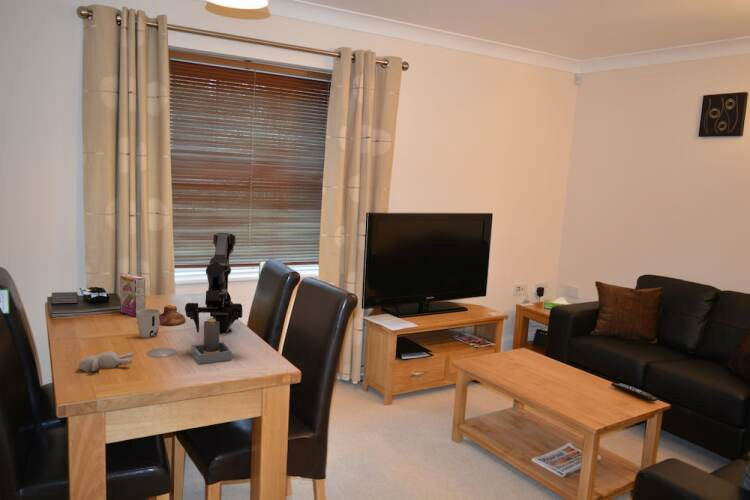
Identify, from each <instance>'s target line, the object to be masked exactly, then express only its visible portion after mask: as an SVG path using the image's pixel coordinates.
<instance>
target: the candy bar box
mask: <svg viewBox="0 0 750 500" xmlns="http://www.w3.org/2000/svg"><path fill="white" fill-rule="evenodd" d="M143 309H146V278H145V277H143V276H138V275H135V274H130V273H127V274H120V275H119V311H120V312H119V313H121V314H125V315H128V316H130V317H134V318H137V311H139V310H143Z"/></svg>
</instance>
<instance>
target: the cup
mask: <svg viewBox="0 0 750 500" xmlns="http://www.w3.org/2000/svg"><path fill="white" fill-rule="evenodd" d="M160 314H161V310H160V309H158V308H157V309H156V308H145V309H143V310H139V311H137V317H136V319H137V322H136V323H137V326H138V327H137V328H138V332H139V335H140V338H147V339H148V338H154V337H157V335H158V332H159V328H160V325H159V323H160Z"/></svg>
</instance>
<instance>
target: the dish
mask: <svg viewBox="0 0 750 500" xmlns="http://www.w3.org/2000/svg"><path fill="white" fill-rule="evenodd" d="M232 352H233V351H232V349H230V348H229V347H228V346H227V344H225V342H223V341H222V342H219V352H216V353H207V354H204V343H203V344H194V345H191V355H192V357H193V358H194V359H195V361H196V362H197V364H198V365H205V364H211V363H212V364H213V363H221V362H227V361H232V359H233V358H232V356H233V354H232Z"/></svg>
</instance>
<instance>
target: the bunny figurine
mask: <svg viewBox="0 0 750 500" xmlns="http://www.w3.org/2000/svg"><path fill="white" fill-rule="evenodd" d="M133 357H134V353H133V352H126V353H123V354H121V355H118V354H117V353H116V352H115V351H114V350H109V351H104V352H101V353H100V354H96V355H92V354H91V355H87V356H86V357H84V359H82V360H80V361H79V363H78V370H81V371H83V372H85V373H88V372H89V373H91V372H97V371H99V370H100V369H115V368H116V367H118V366H119V364H122V365H128V364H131V363H132V359H131V358H133Z"/></svg>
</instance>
